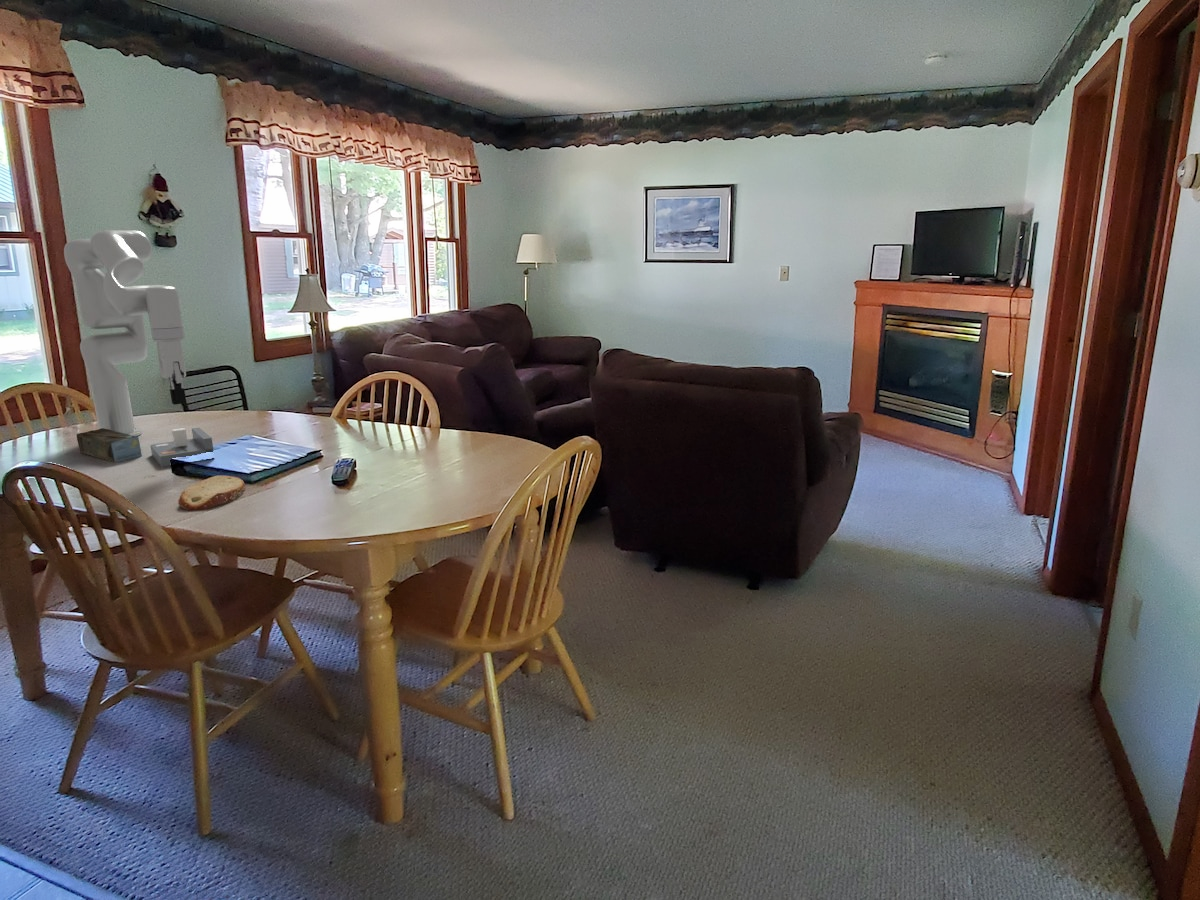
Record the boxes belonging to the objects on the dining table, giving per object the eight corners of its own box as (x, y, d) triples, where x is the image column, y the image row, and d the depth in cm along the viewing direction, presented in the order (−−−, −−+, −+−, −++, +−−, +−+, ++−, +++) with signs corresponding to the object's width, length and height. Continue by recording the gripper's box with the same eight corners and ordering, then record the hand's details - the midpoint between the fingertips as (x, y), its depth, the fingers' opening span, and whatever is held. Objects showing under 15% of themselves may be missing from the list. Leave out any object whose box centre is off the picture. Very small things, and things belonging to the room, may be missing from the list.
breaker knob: (174, 445, 219) (171, 429, 217) (186, 443, 220) (183, 427, 219) (176, 446, 217) (173, 431, 216) (187, 445, 219) (185, 429, 217)
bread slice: (232, 481, 198) (230, 466, 197) (267, 494, 187) (266, 479, 186) (156, 499, 185) (154, 483, 184) (190, 515, 174) (188, 499, 173)
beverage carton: (113, 463, 215) (109, 440, 213) (78, 454, 224) (74, 432, 223) (143, 456, 221) (139, 434, 219) (107, 448, 231) (103, 426, 229)
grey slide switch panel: (151, 455, 222) (148, 434, 220) (202, 447, 229) (199, 427, 228) (162, 467, 210) (158, 445, 208) (214, 458, 217) (211, 437, 216)
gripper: (147, 333, 209) (158, 401, 214) (156, 338, 197) (168, 409, 202) (178, 331, 213) (189, 398, 218) (189, 335, 202) (200, 405, 206)
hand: (179, 403), depth 210 cm, fingers closed
